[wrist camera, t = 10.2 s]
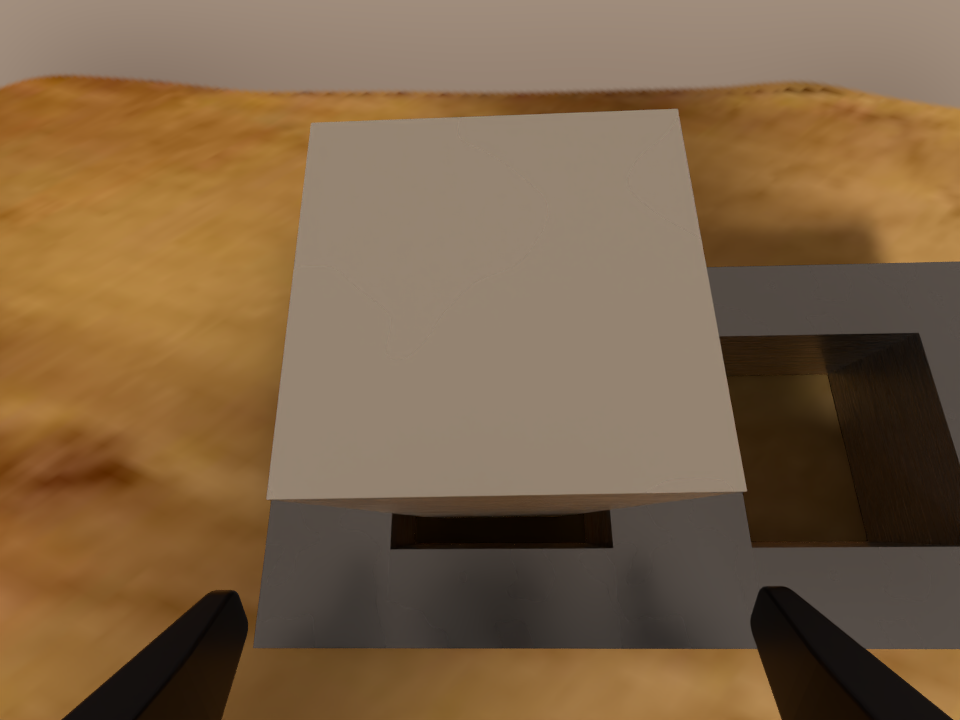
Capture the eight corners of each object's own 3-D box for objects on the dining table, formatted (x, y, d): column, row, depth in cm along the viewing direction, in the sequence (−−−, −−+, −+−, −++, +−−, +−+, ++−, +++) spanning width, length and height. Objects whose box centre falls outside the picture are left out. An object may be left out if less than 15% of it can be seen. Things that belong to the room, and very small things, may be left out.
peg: (552, 399, 18) (678, 109, 5) (559, 516, 16) (746, 491, 4) (440, 401, 18) (311, 123, 5) (439, 518, 16) (266, 499, 4)
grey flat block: (874, 316, 18) (974, 261, 14) (960, 617, 15) (1117, 649, 11) (339, 326, 19) (299, 276, 15) (312, 618, 16) (252, 648, 12)
